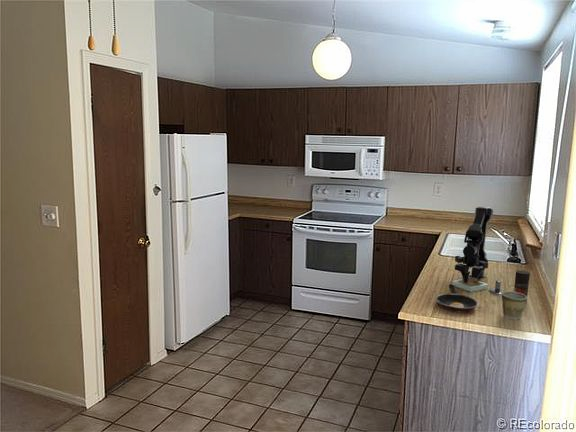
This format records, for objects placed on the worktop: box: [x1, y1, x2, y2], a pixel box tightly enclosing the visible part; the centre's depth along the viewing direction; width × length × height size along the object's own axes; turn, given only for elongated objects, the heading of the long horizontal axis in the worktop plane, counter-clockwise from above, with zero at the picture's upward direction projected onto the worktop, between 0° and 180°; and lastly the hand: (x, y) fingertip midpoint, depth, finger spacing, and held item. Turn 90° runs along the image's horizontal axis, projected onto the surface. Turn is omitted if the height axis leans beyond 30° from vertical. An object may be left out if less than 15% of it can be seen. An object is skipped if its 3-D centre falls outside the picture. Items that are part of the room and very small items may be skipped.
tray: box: [451, 278, 489, 293], centre depth 246 cm, size 12×12×3 cm
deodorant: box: [513, 269, 531, 304], centre depth 225 cm, size 6×6×15 cm
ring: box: [461, 277, 480, 286], centre depth 245 cm, size 7×9×3 cm
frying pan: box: [435, 283, 480, 313], centre depth 225 cm, size 19×32×4 cm, turn 168°
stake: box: [488, 280, 506, 296], centre depth 239 cm, size 8×8×6 cm
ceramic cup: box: [501, 290, 528, 321], centre depth 208 cm, size 13×10×10 cm
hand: (470, 282), depth 246 cm, fingers closed on ring, 7 cm apart
